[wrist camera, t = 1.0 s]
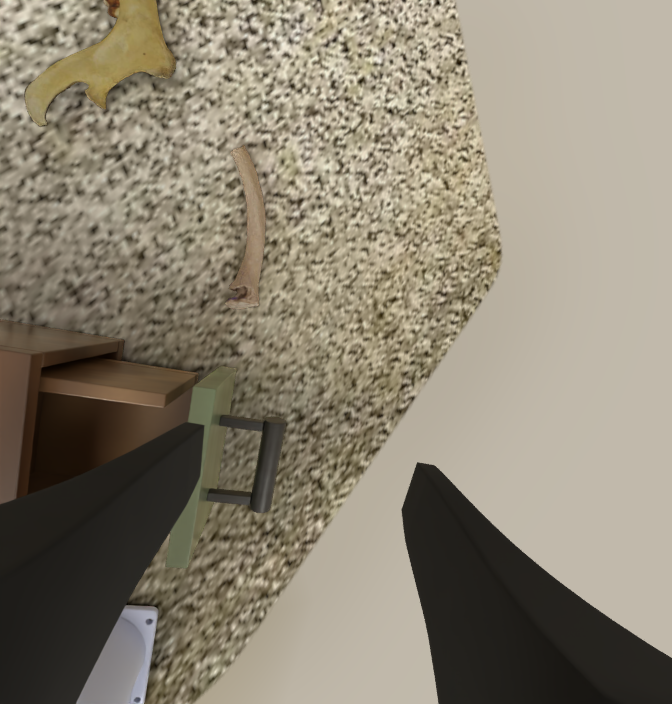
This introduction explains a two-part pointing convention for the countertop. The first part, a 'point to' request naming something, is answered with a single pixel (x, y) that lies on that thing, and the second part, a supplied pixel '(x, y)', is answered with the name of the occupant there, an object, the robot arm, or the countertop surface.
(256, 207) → the bone
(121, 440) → the drawer
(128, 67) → the jawbone
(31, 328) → the cabinet
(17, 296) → the countertop surface
